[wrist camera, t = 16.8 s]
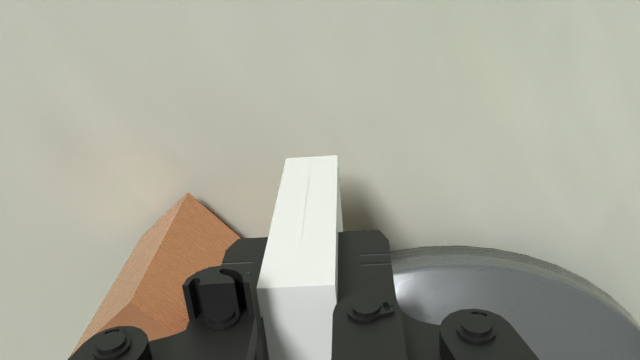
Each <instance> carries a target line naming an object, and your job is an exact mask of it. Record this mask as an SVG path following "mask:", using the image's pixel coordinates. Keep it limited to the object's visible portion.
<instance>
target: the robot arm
mask: <svg viewBox="0 0 640 360" xmlns="http://www.w3.org/2000/svg"><path fill="white" fill-rule="evenodd" d="M182 288H183V293H184V298H185V303H186V307H187V312H188V317H189V322H188V325H187V328H186V330H184V331H182V332H180V333H177V334H174V335H171V336H168V337H164V338H160V339H156V340H152V341H148V337H147V334H146V333H145V332H144V331H143V330H142V329H140V328H137V327H134V326H117V327H113V328H109V329H105V330H103V331H101V332H99V333H97V334H95V335H93V336H92V337H90V338H89V339H88V340H87V341H85V342H84V343H83V344H82V345H81V346H80V347H79V348H78V349H77V350H76V351H75V352H74V354H73V355H72V356H71V357H70V358H69V359H68V360H539V359H538V357H537V356H536V355H535V354H534V352H533V351H532V350H531V349H530V347H529V346H528V345H527V344H526V342H525V341H524V340H523V339H522V338H521V336H520V335H519V334H518V333H517V331H516V330H515V329H514V328H513V326H512V325H511V324H510V323H509V322H508V321H506V320H505V319H504V318H503V317H502V316H500V315H497V314H495V313H493V312H490V311H487V310H481V309H461V310H459V311H456V312H453V313H450V314H449V315H448V316H447V317H445V318H444V319H443V320H442V322H441V325H436V324H430V323H426V322H422V321H418V320H416V319H414V318H412V317H410V316H408V315H407V314H406V313H404V312H403V311H402V310H401V308H400V307H399V305H398V303H397V299H396V292H395V285H394V278H393V270H392V265H391V256H390V249H389V242H388V239H387V238H386V237H385V236H384V235H383V234H382V233H381V232H380V231H379V230H370V231H351V232H343V223H342V209H341V195H340V182H339V168H338V155H333V156H317V157H300V158H286V162H285V166H284V170H283V175H282V179H281V184H280V188H279V192H278V197H277V201H276V205H275V210H274V214H273V219H272V223H271V227H270V232H269V236H268V237H265V238H246V239H237V240H236V241H235V242H234V243H233V244H232V245H231V246H230V247H229V248H228V249H227V250H226V252H225V255H224V257H223V260H222V265H220V266H214V267H208V268H206V269H203V270H200V271H198V272H196V273H194V274H193V275H191V276H190V277H188V278H187V279H186V281H185V282H184V283H183V285H182Z"/></svg>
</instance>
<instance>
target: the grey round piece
mask: <svg viewBox="0 0 640 360" xmlns="http://www.w3.org/2000/svg"><path fill="white" fill-rule="evenodd" d="M237 239H241V238H240V237H239V236H238V235H237V234H236V233H234V232H233V231H232V230H231V229H230V228H229V227H227V226H226V225H225V224H224V223H223V222H222V221H221V220H219V219H218V218H217V217H216V216H215V215H214V214H212V213H211V212H210V211H209V210H208V209H207V208H205V207H204V206H203V205H202V204H201V203H200V202H199V201H197V200H196V199H195V198H194V197H193V196H192V195H190V194H189V193H187V194H186V195H185V196H184V197H183V198H181V199H180V200H179V201H178V202H177V203H176V204H175V205H174V206H173V207H172V208H171V209H170V210H169V211H168V212H167V213H166V214H165V215H164V216H163V217H162V218H161V219H159V220H158V221H157V222H156V223H155V224H154V225H153V226H152V227H151V228H150V229H149V230H148V231H147V232H146V233H145V234H144V235H143V236H142V237H141V239H140V240H139V242H138V244H137V245H136V247H135V249H134V250H133V252H132V254H131V255H130V257H129V259H128V260H127V262H126V264H125V265H124V267H123V269H122V270H121V272H120V274H119V275H118V277H117V279H116V281H115V282H114V284H113V286H112V287H111V289H110V291H109V292H108V294H107V296H106V297H105V299H104V301H103V302H102V304H101V306H100V307H99V309H98V311H97V312H96V314H95V316H94V317H93V319H92V321H91V322H90V324H89V326H88V327H87V329H86V331H85V332H84V334H83V336H82V337H81V339H80V341H79V342H78V344H77V346H76V347H75V349H74V351H73V352H72V354H71V356H72V355H73V354H74V352H75V351H76V350H77V349H78V348H79V347H80V346H81V345H82V344H83V343H84V342H85V341H87V340H88V339H89V338H90V337H92V336H93V335H95V334H97V333H99V332H101V331H103V330H105V329H109V328H113V327H117V326H134V327H137V328H140V329H142V330H143V331H144V332H145V333H146V334H147V337H148V341H152V340H156V339H160V338H164V337H168V336H171V335H174V334H177V333H180V332H182V331H184V330H186V328H187V325H188V322H189V317H188V312H187V307H186V303H185V298H184V293H183V288H182V285H183V283H184V282H185V281H186V279H187V278H188V277H190V276H191V275H193V274H194V273H196V272H198V271H200V270H203V269H206V268H208V267H214V266H220V265H222V260H223V257H224V255H225V252H226V250H227V249H228V248H229V247H230V246H231V245H232V244H233V243H234V242H235V241H236V240H237ZM390 256H391V265H392V270H393V278H394V285H395V292H396V299H397V303H398V305H399V307H400V308H401V310H402V311H403V312H404V313H406V314H407V315H408V316H410V317H412V318H414V319H416V320H418V321H422V322H426V323H430V324H436V325H441V322H442V320H443V319H444V318H445V317H447V316H448V315H449V314H450V313H453V312H456V311H459V310H461V309H481V310H487V311H490V312H493V313H495V314H497V315H500V316H502V317H503V318H504V319H505V320H506V321H508V322H509V323H510V324H511V325H512V326H513V328H514V329H515V330H516V331H517V333H518V334H519V335H520V336H521V338H522V339H523V340H524V341H525V342H526V344H527V345H528V346H529V347H530V349H531V350H532V351H533V352H534V354H535V355H536V356H537V357H538V359H539V360H640V326H639V325H638V323H637V322H636V321H635V320H634V318H633V317H632V316H631V314H629V313H628V312H627V311H626V310H625V309H624V308H623V307H622V306H621V305H620V304H619V303H618V302H616V301H615V300H614V299H613V298H612V297H611V296H610V295H608V294H607V293H605V292H604V291H602V290H601V289H599V288H598V287H596V286H595V285H594V284H592V283H591V282H589V281H588V280H586V279H584V278H582V277H580V276H578V275H576V274H574V273H572V272H570V271H568V270H566V269H564V268H562V267H559V266H557V265H554V264H551V263H548V262H545V261H542V260H539V259H536V258H533V257H530V256H527V255H523V254H518V253H513V252H508V251H503V250H498V249H492V248H480V247H468V246H433V247H419V248H412V249H405V250H398V251H391V252H390ZM71 356H70V357H71Z"/></svg>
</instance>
